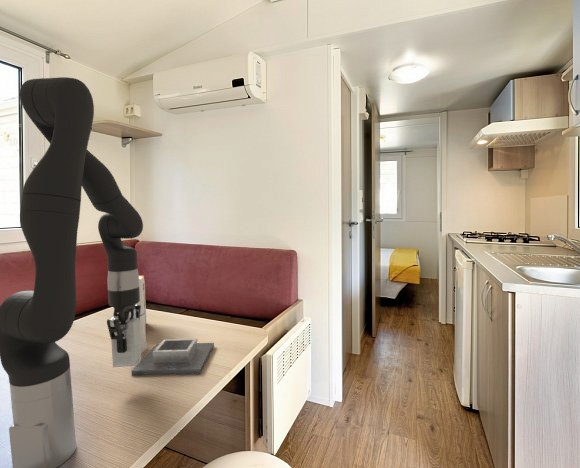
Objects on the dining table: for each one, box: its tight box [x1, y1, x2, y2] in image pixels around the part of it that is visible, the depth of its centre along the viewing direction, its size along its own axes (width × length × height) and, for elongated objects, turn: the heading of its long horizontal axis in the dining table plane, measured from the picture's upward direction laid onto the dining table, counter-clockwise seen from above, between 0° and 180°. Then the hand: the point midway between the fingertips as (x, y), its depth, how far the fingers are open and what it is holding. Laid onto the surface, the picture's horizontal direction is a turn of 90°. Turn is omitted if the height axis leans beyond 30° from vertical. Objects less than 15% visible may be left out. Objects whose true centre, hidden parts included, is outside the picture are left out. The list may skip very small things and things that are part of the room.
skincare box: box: [110, 318, 142, 368], centre depth 86 cm, size 6×4×12 cm
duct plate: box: [131, 338, 215, 377], centre depth 102 cm, size 18×20×5 cm
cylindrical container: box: [135, 275, 147, 353], centre depth 108 cm, size 7×7×25 cm
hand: (126, 347), depth 86 cm, fingers closed on skincare box, 4 cm apart
